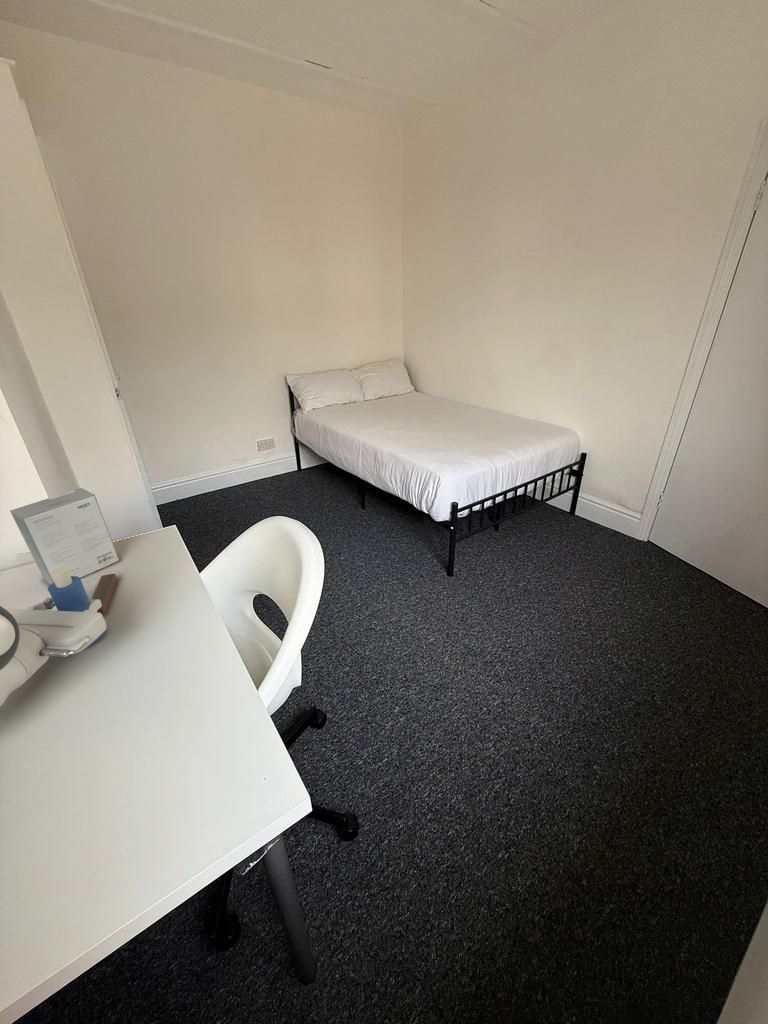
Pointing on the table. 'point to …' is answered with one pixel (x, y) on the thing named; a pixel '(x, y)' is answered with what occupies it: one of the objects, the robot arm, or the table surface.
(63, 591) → the blue bottle
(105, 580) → the walnut bar
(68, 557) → the hard drive box
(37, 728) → the table surface
